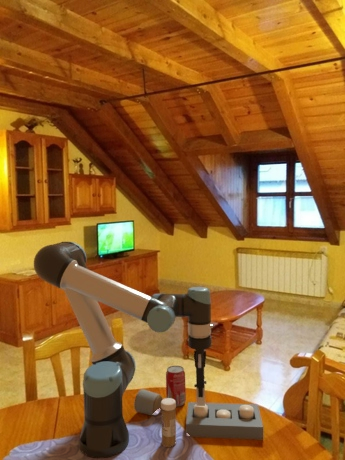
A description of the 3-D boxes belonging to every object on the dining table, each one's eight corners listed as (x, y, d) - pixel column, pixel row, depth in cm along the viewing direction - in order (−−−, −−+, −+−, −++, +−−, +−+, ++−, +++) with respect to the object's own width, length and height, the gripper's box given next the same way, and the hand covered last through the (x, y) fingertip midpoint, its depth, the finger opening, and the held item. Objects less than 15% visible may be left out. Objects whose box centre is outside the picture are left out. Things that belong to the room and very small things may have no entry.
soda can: (189, 401, 146) (188, 367, 146) (179, 409, 140) (178, 374, 140) (173, 396, 150) (172, 363, 149) (162, 404, 144) (162, 370, 143)
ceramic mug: (154, 420, 133) (154, 398, 133) (133, 415, 137) (133, 394, 137) (168, 406, 143) (167, 386, 143) (148, 402, 147) (148, 382, 146)
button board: (186, 436, 124) (185, 424, 124) (188, 413, 138) (188, 402, 138) (263, 439, 122) (263, 427, 121) (257, 415, 136) (257, 404, 135)
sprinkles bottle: (158, 443, 121) (157, 400, 120) (169, 437, 124) (168, 395, 123) (168, 450, 117) (167, 406, 116) (179, 443, 120) (178, 400, 120)
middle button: (216, 425, 128) (216, 416, 127) (216, 417, 132) (216, 409, 132) (230, 426, 127) (230, 417, 127) (230, 418, 132) (230, 409, 132)
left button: (193, 418, 128) (193, 410, 128) (194, 411, 133) (194, 403, 133) (207, 419, 128) (207, 410, 128) (207, 412, 132) (207, 403, 132)
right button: (239, 420, 127) (239, 411, 127) (238, 413, 131) (238, 404, 131) (254, 421, 126) (254, 412, 126) (252, 413, 131) (252, 404, 131)
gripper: (211, 341, 122) (212, 415, 123) (211, 328, 135) (212, 395, 136) (187, 341, 123) (188, 414, 124) (189, 328, 136) (190, 394, 137)
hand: (200, 404), depth 130 cm, fingers closed
